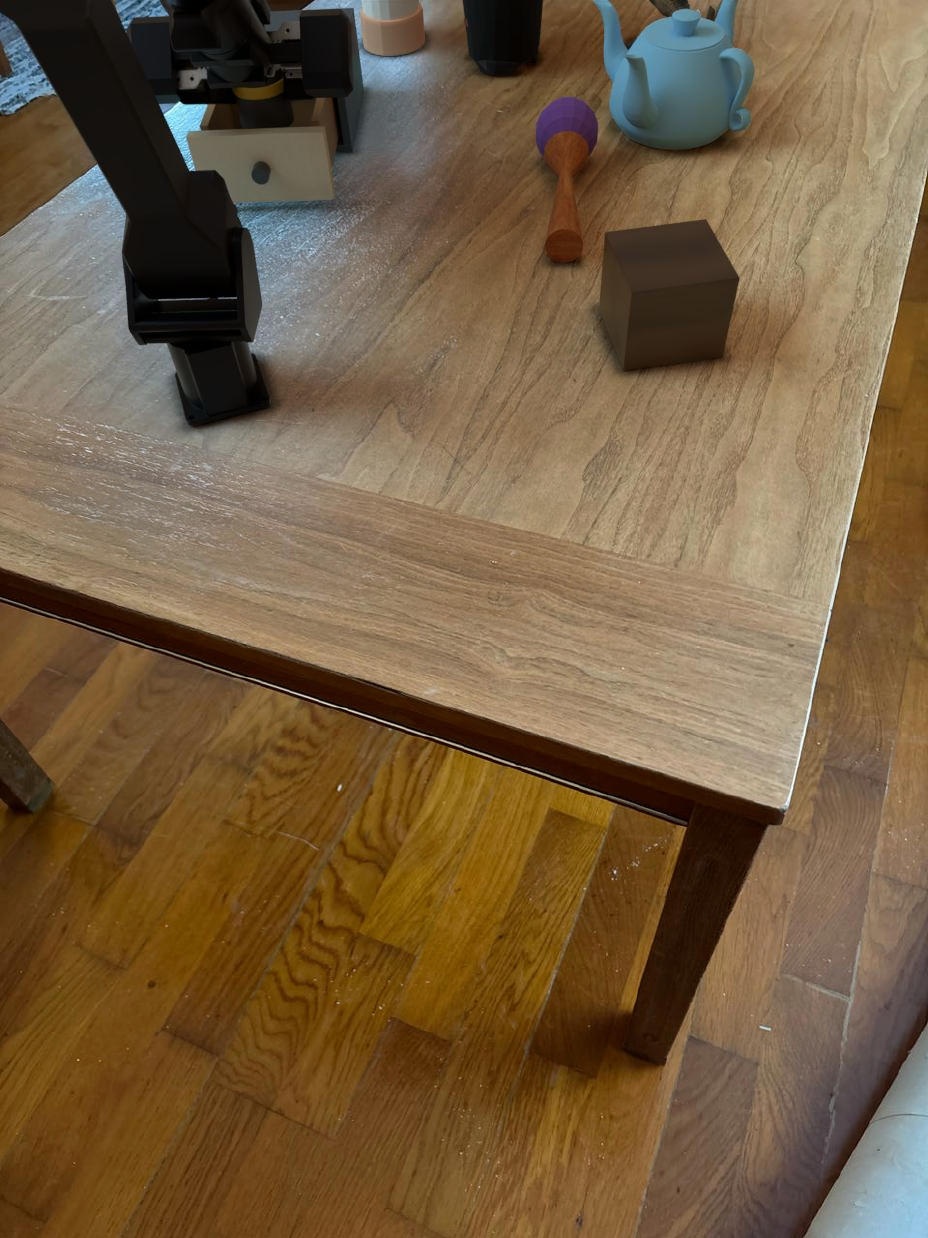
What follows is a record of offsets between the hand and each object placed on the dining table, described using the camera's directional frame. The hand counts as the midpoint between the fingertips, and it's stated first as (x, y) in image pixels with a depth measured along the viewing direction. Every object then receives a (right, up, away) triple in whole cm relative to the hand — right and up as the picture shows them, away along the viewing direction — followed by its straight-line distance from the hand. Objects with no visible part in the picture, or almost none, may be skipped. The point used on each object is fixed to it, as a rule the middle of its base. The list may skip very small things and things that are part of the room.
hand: (266, 96), depth 88 cm
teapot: (+39, +2, +8) cm, 40 cm away
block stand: (+34, -26, -12) cm, 45 cm away
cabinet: (+1, +4, +12) cm, 12 cm away
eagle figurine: (+42, +15, +18) cm, 48 cm away
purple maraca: (+28, -10, 0) cm, 30 cm away
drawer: (0, -5, +4) cm, 6 cm away
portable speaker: (+23, +14, +18) cm, 32 cm away
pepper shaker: (+10, +19, +22) cm, 31 cm away
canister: (0, -2, 0) cm, 2 cm away
